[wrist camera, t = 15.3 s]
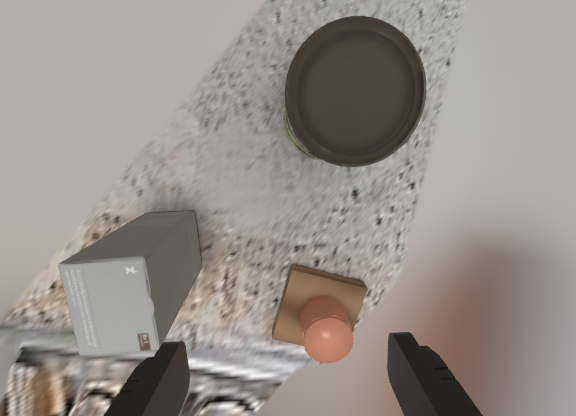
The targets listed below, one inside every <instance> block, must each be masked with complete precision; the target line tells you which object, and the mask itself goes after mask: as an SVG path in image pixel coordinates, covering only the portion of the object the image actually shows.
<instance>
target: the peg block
mask: <svg viewBox="0 0 576 416" xmlns="http://www.w3.org/2000/svg"><path fill="white" fill-rule="evenodd" d="M366 292H367V287H366V285H365V284H364V282H362V281H358V280H354V279H350V278H347V277H343V276H339V275H335V274H331V273H327V272H323V271H319V270H315V269H311V268H307V267H303V266H299V265H295V264H292V265H291V269H290V272H289V275H288V279H287V282H286V286H285V289H284V292H283V296H282V299H281V303H280V306H279V309H278V313H277V316H276V320H275V323H274V326H273V332H272V339H276V340H280V341H284V342H289V343H293V344H297V345H302V346H304V340H303V334H302V325H301V317H300V311H301V309H302V308H303V307H304V306H305V305H306V303H307V302H308V301H309V300H310V298H315V297H322V296H330V297H332V298H333V299H334V300H336V301H337V302H339V303H340V304H342V305H343V307H344V310H345V312H346V315H347V317H348V320H349V322H350V325H351V330H352V331H353V329H354V326H355V323H356V320H357V317H358V314H359V312H360V309H361V306H362V303H363V300H364V297H365V295H366Z"/></svg>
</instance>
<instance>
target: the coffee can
mask: <svg viewBox="0 0 576 416" xmlns="http://www.w3.org/2000/svg"><path fill="white" fill-rule="evenodd" d="M425 99H426V77H425V71H424V67H423V64H422V61H421V59H420V56H419V54H418V52H417V50H416V49H415V47H414V46H413V44H412V43H411V41H410V40H409V39H408V38H407V37H406V36H405V35H404V34H403V33H402V32H400V31H399V30H398V29H397V28H395V27H394V26H392V25H390V24H389V23H386V22H384V21H382V20H379V19H376V18H372V17H366V16H351V17H345V18H341V19H338V20H335V21H333V22H330V23H328V24H326V25H324V26H323V27H321V28H319V29H318V30H316V31H315V32H314V33H313V34H312V35H310V36H309V37H308V38H307V40H306V41H305V42H304V43H303V44H302V45H301V47H300V48H299V50H298V51H297V53H296V55H295V57H294V59H293V61H292V63H291V65H290V68H289V71H288V74H287V79H286V85H285V107H284V127H285V130H286V133H287V136H288V138H289V139H290V141H291V142H292V144H293V145H294V146H295V147H296V148H297V149H298V150H299V151H300V152H301V153H303V154H304V155H306V156H308V157H310V158H313V159H318V160H324V161H326V162H329V163H331V164H335V165H339V166H346V167H359V166H366V165H370V164H373V163H376V162H379V161H381V160H383V159H385V158H387V157H389V156H390V155H392V154H393V153H394V152H396V151H397V150H398V149H399V148H400V147H401V146H403V145H404V144H405V142H406V141H407V140H408V139H409V138H410V136H411V135H412V133H413V132H414V130H415V129H416V127H417V125H418V123H419V120H420V118H421V115H422V113H423V109H424V105H425Z"/></svg>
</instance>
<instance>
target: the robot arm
mask: <svg viewBox="0 0 576 416" xmlns="http://www.w3.org/2000/svg"><path fill="white" fill-rule="evenodd" d="M387 365H388V366H387V368H388V375H389V380H390V383H391V386H392V388H393V390H394V393H395V395H396V398H397V400H398V402H399V404H400V407H401V409H402V411H403V414H404V416H483V415H482V414H481V413H480V411H479V410H478V408H477V407H476V406H475V405H474V403H473V402H472V400H471V399H470V398H469V396H468V395H467V393H466V392H465V391H464V389H463V388H462V386H461V385H460V383H459V382H458V381H457V380H456V379H455V377H454V375H453V374H452V373H451V371H450V370H448V367H447V365H446V364H445V363H444V361H443V360H442V358H441V357H440V356H439V355H438V354H437V353H435V352H434V351H433V350H432V349H430V348H429V347H428V346H419V345H418V343H417V341H416V340H415V338H414V337H413V335H412V334H411V333H410V332H402V333H401V332H399V333H390V334H389V338H388V364H387ZM189 382H190V373H189V366H188V359H187V353H186V346H185V343H184V342H183V341H182V342H164V343H162V344H161V346H160V348H159V349H158V351H157V352H156V354H155V356H154V357H148V358H146V359H145V360H144V361H143V362H142V363H141V364H139V365H138V366H137V367H136V368H135V369H134V371H133V372H132V374H131V375H130V377H129V378H128V380H127V383H125V384H124V386H123V387H122V389H121V390H120V393H119V394H118V395H117V396H116V398H115V399H114V401H113V402H112V404H111V405H110V407H109V408H108V410H107V411H106V413H105V414H104V416H178V415H179V413H180V410H181V408H182V405H183V403H184V400H185V398H186V395H187V392H188V388H189Z"/></svg>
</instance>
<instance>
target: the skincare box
mask: <svg viewBox="0 0 576 416" xmlns="http://www.w3.org/2000/svg"><path fill="white" fill-rule="evenodd" d="M58 267H59V270H60V274H61V278H62V283H63V287H64V291H65V296H66V300H67V304H68V309H69V313H70V317H71V321H72V325H73V330H74V334H75V338H76V342H77V346H78V350H79V355H93V354H106V353H119V352H133V351H147V350H158V349H159V348H160V346H161V344H162V343H163V341H164V339H165V337H166V336H167V334H168V332H169V330H170V328H171V326H172V324H173V322H174V320H175V318H176V316H177V314H178V312H179V310H180V308H181V307H182V305H183V303H184V301H185V299H186V297H187V295H188V293H189V292H190V290H191V288H192V286H193V284H194V282H195V280H196V278H197V276H198V274H199V273H200V271H201V269H202V263H201V255H200V247H199V240H198V232H197V225H196V218H195V211H177V212H159V213H145V214H143V215H141V216H139V217H137V218H136V219H134V220H132V221H131V222H129V223H127V224H126V225H124V226H122V227H121V228H119V229H117V230H115V231H114V232H112V233H110V234H109V235H107V236H105V237H104V238H102V239H100V240H98V241H97V242H95V243H93V244H92V245H90V246H88V247H87V248H85V249H83V250H81V251H80V252H78V253H76V254H75V255H73V256H71V257H70V258H68V259H66V260H65V261H63V262H61V263H59V264H58Z"/></svg>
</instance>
